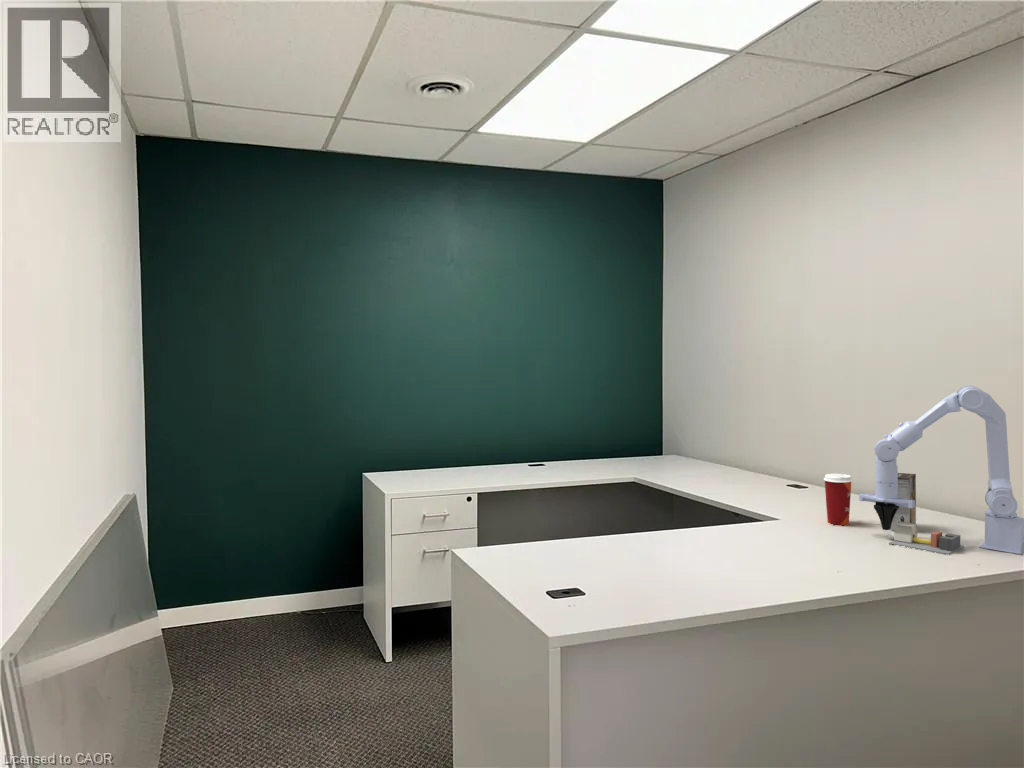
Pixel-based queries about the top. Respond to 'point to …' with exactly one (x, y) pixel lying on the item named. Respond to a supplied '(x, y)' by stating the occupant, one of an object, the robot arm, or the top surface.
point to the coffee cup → (838, 498)
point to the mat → (922, 546)
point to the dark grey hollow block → (949, 542)
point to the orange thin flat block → (935, 538)
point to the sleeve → (905, 531)
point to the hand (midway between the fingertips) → (886, 529)
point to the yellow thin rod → (921, 540)
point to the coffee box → (908, 492)
